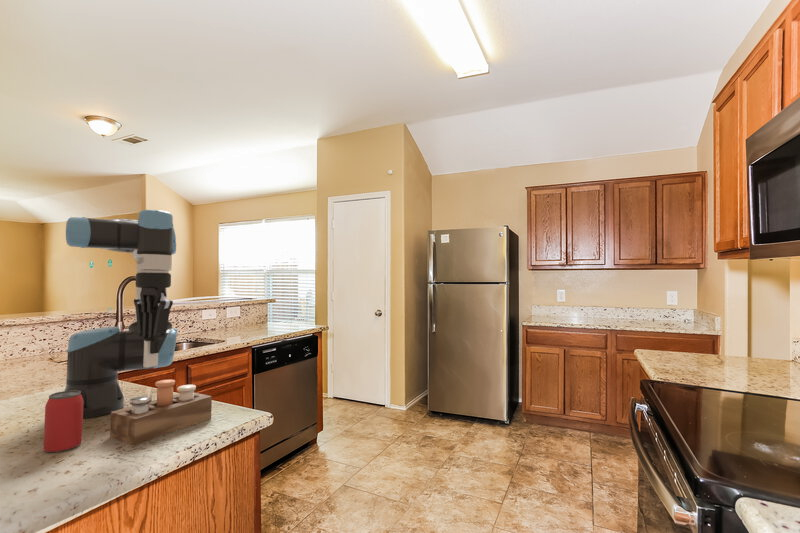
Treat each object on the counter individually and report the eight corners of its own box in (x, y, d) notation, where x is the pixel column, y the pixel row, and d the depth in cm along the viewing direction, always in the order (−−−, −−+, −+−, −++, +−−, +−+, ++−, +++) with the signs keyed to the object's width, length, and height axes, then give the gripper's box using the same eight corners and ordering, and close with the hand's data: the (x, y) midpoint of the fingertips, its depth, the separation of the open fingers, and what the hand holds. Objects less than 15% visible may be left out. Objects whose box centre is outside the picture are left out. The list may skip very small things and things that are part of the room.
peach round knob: (150, 409, 100) (151, 382, 100) (167, 404, 104) (168, 378, 104) (161, 412, 98) (162, 384, 98) (178, 407, 102) (179, 380, 102)
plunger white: (173, 413, 105) (173, 387, 105) (188, 408, 109) (188, 383, 109) (183, 415, 103) (184, 390, 103) (198, 411, 107) (199, 386, 107)
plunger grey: (125, 428, 94) (126, 399, 94) (143, 422, 98) (144, 395, 98) (135, 431, 92) (137, 402, 92) (154, 425, 96) (155, 397, 96)
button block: (109, 437, 94) (110, 412, 94) (187, 412, 112) (188, 391, 112) (134, 445, 89) (135, 419, 89) (211, 418, 107) (211, 396, 107)
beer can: (59, 455, 84) (61, 399, 84) (35, 452, 85) (37, 396, 86) (89, 442, 90) (91, 390, 91) (66, 440, 92) (68, 388, 92)
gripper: (123, 271, 98) (119, 365, 97) (153, 271, 92) (150, 372, 91) (154, 272, 105) (151, 360, 104) (184, 272, 98) (181, 366, 98)
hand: (150, 366), depth 98 cm, fingers closed
